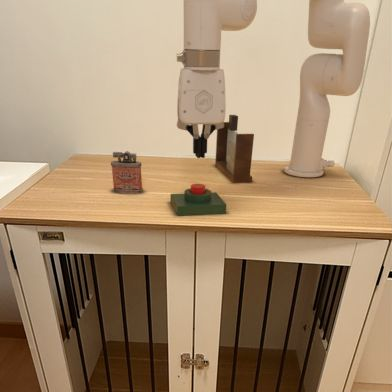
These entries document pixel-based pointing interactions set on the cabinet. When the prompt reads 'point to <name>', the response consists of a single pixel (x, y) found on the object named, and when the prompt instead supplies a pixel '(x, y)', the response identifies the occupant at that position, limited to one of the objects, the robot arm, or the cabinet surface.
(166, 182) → the cabinet surface
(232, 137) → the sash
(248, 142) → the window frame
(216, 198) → the alarm box
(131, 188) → the lighter
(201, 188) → the button
